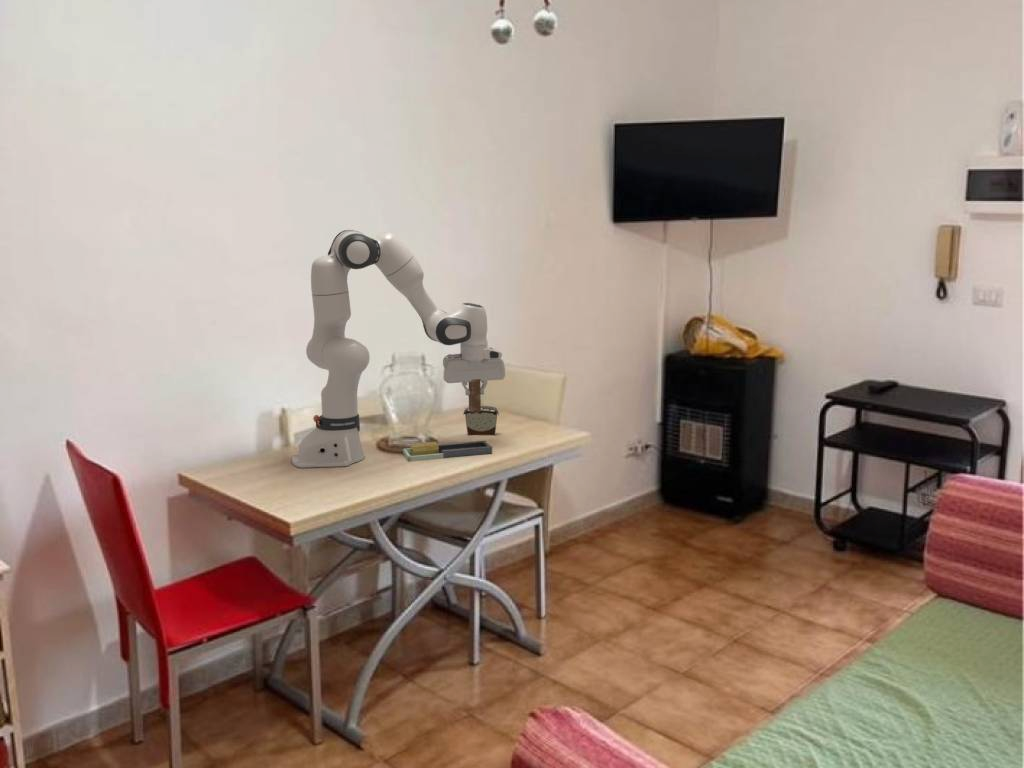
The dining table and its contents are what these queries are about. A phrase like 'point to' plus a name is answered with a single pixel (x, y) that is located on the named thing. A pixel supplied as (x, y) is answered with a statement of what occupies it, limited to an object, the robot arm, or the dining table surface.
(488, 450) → the dark grey tray
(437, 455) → the tray
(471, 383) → the brown rectangular block
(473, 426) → the food container
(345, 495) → the dining table surface
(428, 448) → the olive yellow cube
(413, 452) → the chip
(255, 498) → the dining table surface
